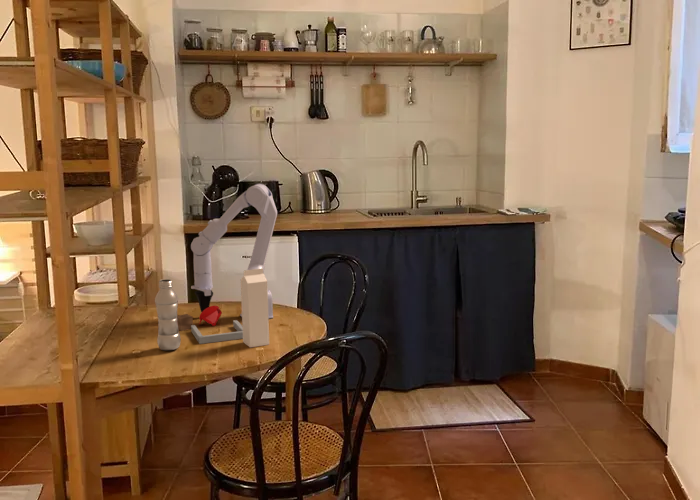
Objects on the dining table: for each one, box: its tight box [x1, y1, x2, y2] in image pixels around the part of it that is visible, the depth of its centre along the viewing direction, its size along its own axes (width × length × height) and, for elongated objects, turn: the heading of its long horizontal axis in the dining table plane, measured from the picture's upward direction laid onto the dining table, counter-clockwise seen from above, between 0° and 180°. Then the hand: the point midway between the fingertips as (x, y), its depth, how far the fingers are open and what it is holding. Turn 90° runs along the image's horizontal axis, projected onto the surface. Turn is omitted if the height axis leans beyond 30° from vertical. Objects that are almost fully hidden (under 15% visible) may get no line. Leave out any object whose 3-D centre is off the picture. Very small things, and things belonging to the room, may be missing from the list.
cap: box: [198, 305, 223, 327], centre depth 221 cm, size 8×6×6 cm
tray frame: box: [190, 319, 243, 345], centre depth 209 cm, size 14×14×2 cm
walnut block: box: [177, 313, 194, 332], centre depth 217 cm, size 4×4×4 cm
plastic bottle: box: [154, 278, 181, 351], centre depth 194 cm, size 6×7×20 cm
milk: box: [240, 269, 270, 348], centre depth 199 cm, size 6×6×22 cm
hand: (204, 312), depth 229 cm, fingers closed
